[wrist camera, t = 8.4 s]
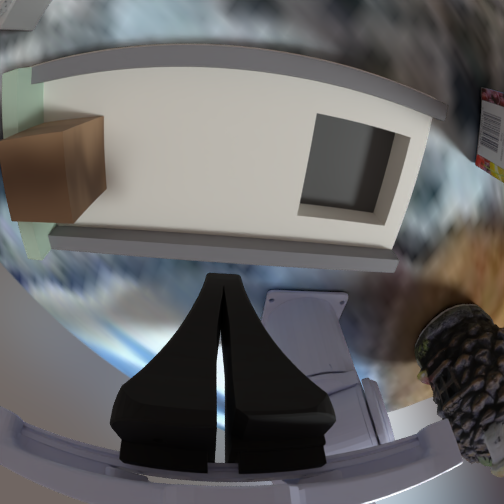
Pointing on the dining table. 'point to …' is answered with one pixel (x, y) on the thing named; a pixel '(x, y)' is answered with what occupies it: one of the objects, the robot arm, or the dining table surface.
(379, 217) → the trap channel
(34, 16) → the lighter
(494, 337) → the pine cone
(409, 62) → the dining table surface
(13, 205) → the walnut block
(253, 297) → the dining table surface
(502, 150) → the snack box
